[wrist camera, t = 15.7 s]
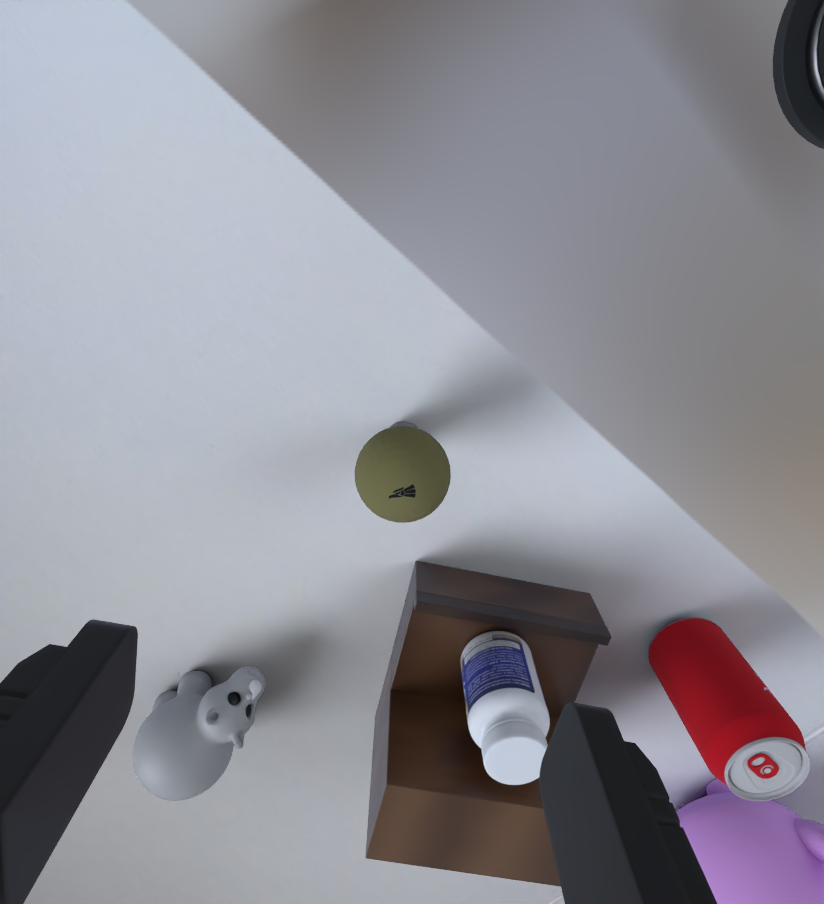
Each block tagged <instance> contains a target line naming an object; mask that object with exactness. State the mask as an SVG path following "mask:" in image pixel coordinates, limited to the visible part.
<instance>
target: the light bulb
mask: <svg viewBox="0 0 824 904" xmlns="http://www.w3.org/2000/svg"><path fill="white" fill-rule="evenodd" d="M355 482H356V486H357V490H358V493H359V495H360V497H361V499H362V500H363V502H364V503H365V504H366V506H367V507H368V508H369V509H370V510H371V511H372V512H373V513H375V514H376V515H378V516H380V517H381V518H384V519H386V520H389V521H394V522H412V521H416V520H419V519H422V518H424V517H426V516H427V515H429V514H431V513H432V512H433V511H434V510H435V509H436V508H437V507H438V506H439V505H440V504H441V502H442V501H443V499H444V497H445V496H446V494H447V491H448V488H449V484H450V465H449V461H448V458H447V456H446V453H445V451H444V449H443V448H442V446H441V445H440V444H439V443H438V442H437V441H436V439H434V438H433V437H432V436H431V435H430V434H428V433H426V432H424V431H423V430H420V429H418V428H417V427H416V426H415V425H414V424H412V423H410V422H406V421H401V422H397V423H395V424H393V425H392V426H391V427H390V428H388V429H385V430H383V431H381V432H379V433H378V434H376V435H375V436H373V437H372V438H371V439H370V440H369V441H368V442H367V443H366V444H365V445H364V447H363V449H362V450H361V452H360V454H359V456H358V459H357V462H356V467H355Z"/></svg>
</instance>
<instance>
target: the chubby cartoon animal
mask: <svg viewBox="0 0 824 904" xmlns="http://www.w3.org/2000/svg"><path fill="white" fill-rule="evenodd" d="M265 687H266V683H265V678H264V676H263V674H262V672H261V671H260V670H259V669H258V668H256V667H251V666H244V667H241V668H239V669H238V670H236V671H235V672H234V673H233V674H232V676H231V677H230V678H229V679H228V680H227V681H225V682H223V683H221V684H219V685H216V686H214V687H212V682H211V679H210V677H209V676H208V674H206V673H204V672H202V671H191V672H188V673H186V674H185V675H184V676H183V677H182V678H181V680H180V682H179V685H178V690H177V691H166V692H163V693H162V694H160V695H159V696H158V698H157V699H156V701H155V703H154V706H153V710H152V713H151V714H150V715H149V716H148V717H147V718H146V720H145V721H144V722H143V724H142V726H141V727H140V729H139V731H138V734H137V736H136V739H135V742H134V747H133V765H134V770H135V773H136V775H137V778H138V780H139V781H140V783H141V784H142V785H143V787H144V788H145V789H146V790H147V791H149V792H150V793H151V794H153V795H154V796H156V797H159V798H161V799H165V800H172V801H178V800H185V799H189V798H192V797H195V796H197V795H199V794H201V793H203V792H204V791H206V790H207V789H209V788H210V787H211V786H212V785H213V784H215V782H216V781H217V780H218V779H219V778H220V777H221V775H222V774H223V773H224V771H225V769H226V768H227V766H228V764H229V761H230V759H231V756H232V752H233V746H234V745H235V746H236V747H237V748H239V749H240V748H242V746H243V741H244V734H245V733H246V732H247V731H248V730H249V729H250V727H251V726H252V724H253V722H254V718H255V706H256V703H257V701H258V699H259V698H260V697H261V695H262V694H263V692H264V689H265Z"/></svg>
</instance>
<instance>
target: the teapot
mask: <svg viewBox="0 0 824 904" xmlns="http://www.w3.org/2000/svg"><path fill="white" fill-rule="evenodd" d="M706 792H707V795H708V796H705V797H702V798H699V799H697V800H695V801H692V802H690V803H688V804H687V805H685V806H683V807H682V808H680V809H679V810H678V811H676V813H677V815H678V818H679V820H680V827H683V829H684V831H685V833H686V835H687V838H688V840H689V842H690V844H691V846H692V849H693V851H694V853H695V855H696V857H697V860H698V862H699V864H700V866H701V868H702V871H703V873H704V875H705V877H706V879H707V882H708V884H709V886H710V888H711V890H712V893H713V895H714V897H715V899H716V902H717V904H824V825H822V824H819V823H817V822H815V821H810V820H804V819H801V818H800V817H799V816H798V815H797V814H796V813H794V812H793V811H792V810H790V809H789V808H787V807H785V806H783V805H781V804H779V803H777V802H774V801H772V800H769V801H750V800H745V799H743V798H740V797H738V796H737V795H735V794H734V793H733V792H732V791H731V790H730V789H729V787H728V786H727V785H725V784H724V783H722V782H721V781H720V780H719V779H715V780H713V781H711V782H710V783H709V784H708V785H707V787H706Z"/></svg>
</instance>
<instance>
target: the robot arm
mask: <svg viewBox="0 0 824 904" xmlns="http://www.w3.org/2000/svg"><path fill="white" fill-rule="evenodd" d="M805 63H806V72H807V78H808V82H809V85H810V88H811V90H812V93H813V95H814V97H815V99H816V100H817V102H818V103H819V105H820V106H821V107H822V108H823V110H824V0H820V1H819V3H818V5H817V7H816V10H815V12H814V15H813V18H812V20H811V24H810V27H809V31H808V36H807V41H806V51H805ZM137 639H138V633H137V628H136V627H134V626H129V625H123V624H117V623H111V622H105V621H99V620H90V621H89V622H87V623H86V624H85V626H84V627H83V628H82V629H81V630H80V632H79V633H78V634H77V635H76V637H75V638H74V639H73V640H72V642H71V643H70V644H69V645H68V647H63V646H57V645H51V644H49V645H47V646H46V647H44V648H43V649H41V650H39V651H38V652H36V653H34V654H33V655H31V656H29V657H28V658H26V659H25V660H23V661H21V662H20V663H18V664H17V665H16V666H15V668H14V669H13V670H12V671H11V672H10V673H9V674H8V675H7V677H6V678H5V679H4V680H3V681H2V682H1V683H0V904H23V903H24V901H25V899H26V898H27V896H28V894H29V892H30V891H31V889H32V887H33V885H34V884H35V882H36V880H37V878H38V877H39V875H40V873H41V871H42V870H43V868H44V866H45V864H46V862H47V861H48V859H49V857H50V855H51V854H52V852H53V850H54V848H55V847H56V845H57V843H58V841H59V840H60V838H61V836H62V834H63V833H64V831H65V829H66V827H67V826H68V824H69V822H70V820H71V818H72V817H73V815H74V813H75V811H76V810H77V808H78V806H79V804H80V803H81V801H82V799H83V797H84V796H85V794H86V792H87V790H88V789H89V787H90V785H91V783H92V782H93V780H94V778H95V776H96V774H97V773H98V771H99V769H100V767H101V766H102V764H103V762H104V760H105V759H106V757H107V755H108V753H109V752H110V750H111V748H112V746H113V745H114V743H115V741H116V739H117V738H118V736H119V734H120V732H121V730H122V729H123V727H124V724H125V722H126V720H127V717H128V715H129V712H130V709H131V705H132V701H133V697H134V689H135V672H136V656H137ZM539 786H540V795H541V800H542V805H543V809H544V813H545V818H546V822H547V827H548V831H549V835H550V840H551V844H552V848H553V853H554V857H555V861H556V866H557V870H558V875H559V879H560V883H561V888H562V892H563V896H564V901H565V904H717V902H716V899H715V897H714V895H713V893H712V890H711V888H710V886H709V884H708V882H707V879H706V877H705V875H704V873H703V871H702V868H701V866H700V864H699V862H698V860H697V857H696V855H695V853H694V851H693V849H692V846H691V844H690V842H689V840H688V838H687V835H686V833H685V831H684V829H683V827H680V820H679V818H678V815H677V813H676V811H675V809H674V807H673V804H672V803H670V802H669V796H668V793H667V791H666V789H665V787H664V785H663V782H662V780H661V778H660V776H659V774H658V771H657V769H656V768H655V767H654V766H653V764H652V763H651V762H650V761H649V759H648V758H647V757H646V756H645V755H644V753H643V752H642V751H641V750H640V749H639V747H638V746H637V745H636V744H635V743H631V742H625V741H624V740H623V738H622V735H621V733H620V730H619V728H618V726H617V723H616V721H615V718H614V716H613V714H612V713H611V711H610V710H608V709H606V708H601V707H595V706H589V705H583V704H577V703H571V702H569V703H567V704H566V705H565V706H564V707H563V710H562V712H561V714H560V717H559V719H558V722H557V724H556V727H555V729H554V732H553V734H552V737H551V739H550V742H549V744H548V746H547V749H546V751H545V754H544V756H543V759H542V763H541V767H540V777H539Z"/></svg>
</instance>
